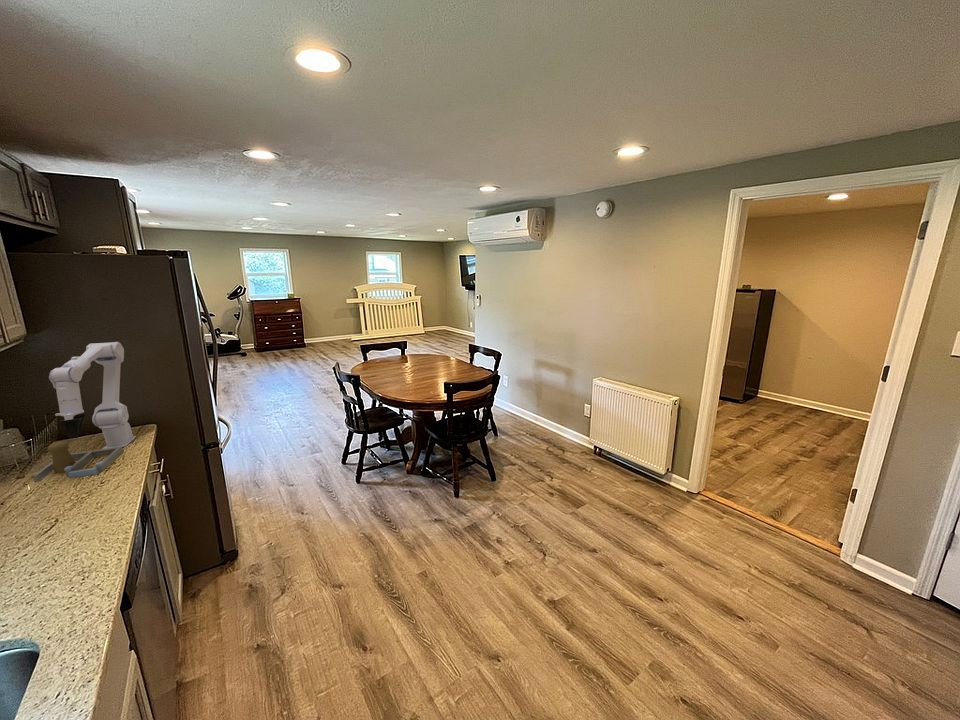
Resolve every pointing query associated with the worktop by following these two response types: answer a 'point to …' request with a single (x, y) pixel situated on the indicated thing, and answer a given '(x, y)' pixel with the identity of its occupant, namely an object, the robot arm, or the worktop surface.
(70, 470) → the blue open frame
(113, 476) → the worktop surface
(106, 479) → the worktop surface
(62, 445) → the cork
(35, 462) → the worktop surface
